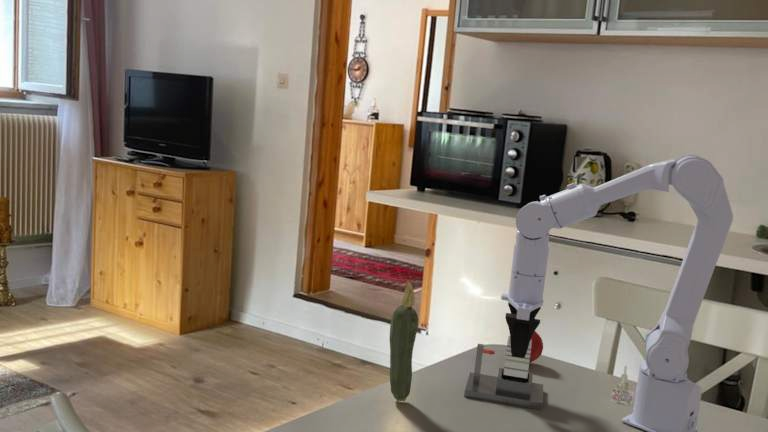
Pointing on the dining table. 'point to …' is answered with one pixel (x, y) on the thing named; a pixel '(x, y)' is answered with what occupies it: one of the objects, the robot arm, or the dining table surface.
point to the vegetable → (402, 345)
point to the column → (516, 362)
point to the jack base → (503, 386)
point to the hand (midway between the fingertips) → (518, 349)
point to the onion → (536, 347)
